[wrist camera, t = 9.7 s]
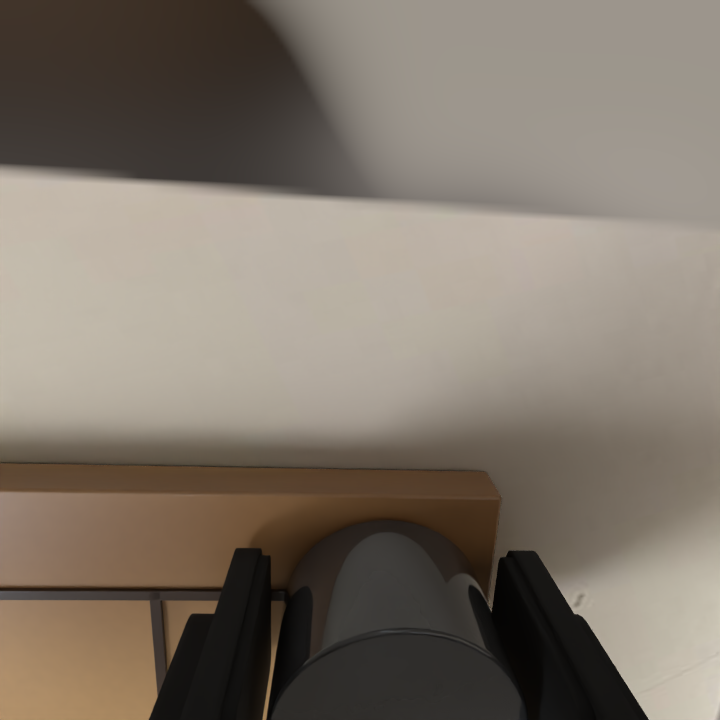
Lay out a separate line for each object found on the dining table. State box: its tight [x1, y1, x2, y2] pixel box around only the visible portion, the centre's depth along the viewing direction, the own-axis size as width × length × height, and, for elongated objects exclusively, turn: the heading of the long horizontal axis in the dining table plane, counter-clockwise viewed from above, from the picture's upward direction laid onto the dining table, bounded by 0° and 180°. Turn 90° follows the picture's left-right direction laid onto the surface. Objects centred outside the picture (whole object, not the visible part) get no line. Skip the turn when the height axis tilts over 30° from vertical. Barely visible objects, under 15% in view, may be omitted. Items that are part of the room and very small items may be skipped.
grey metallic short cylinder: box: [266, 520, 529, 720], centre depth 9 cm, size 4×4×3 cm
